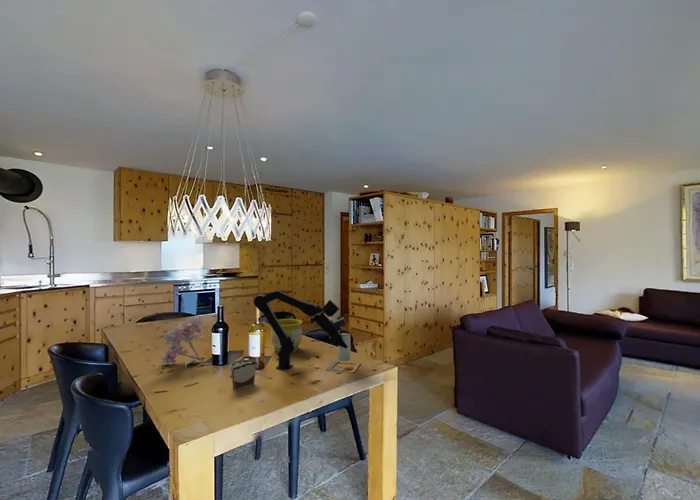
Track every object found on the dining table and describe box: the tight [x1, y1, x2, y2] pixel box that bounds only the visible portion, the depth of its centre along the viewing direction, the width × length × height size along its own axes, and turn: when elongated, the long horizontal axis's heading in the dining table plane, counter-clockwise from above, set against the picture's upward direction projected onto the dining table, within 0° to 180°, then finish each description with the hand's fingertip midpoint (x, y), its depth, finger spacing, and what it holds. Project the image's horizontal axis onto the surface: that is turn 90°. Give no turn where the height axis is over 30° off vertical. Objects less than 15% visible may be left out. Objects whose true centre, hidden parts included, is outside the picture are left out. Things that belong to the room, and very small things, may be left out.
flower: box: [159, 315, 205, 368], centre depth 180 cm, size 20×22×25 cm
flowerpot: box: [270, 318, 303, 354], centre depth 206 cm, size 18×18×16 cm
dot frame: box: [325, 360, 342, 372], centre depth 177 cm, size 14×14×1 cm
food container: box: [229, 358, 258, 391], centre depth 152 cm, size 12×6×10 cm, turn 141°
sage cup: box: [337, 332, 351, 362], centre depth 177 cm, size 6×6×12 cm
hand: (347, 345), depth 177 cm, fingers closed on sage cup, 6 cm apart
